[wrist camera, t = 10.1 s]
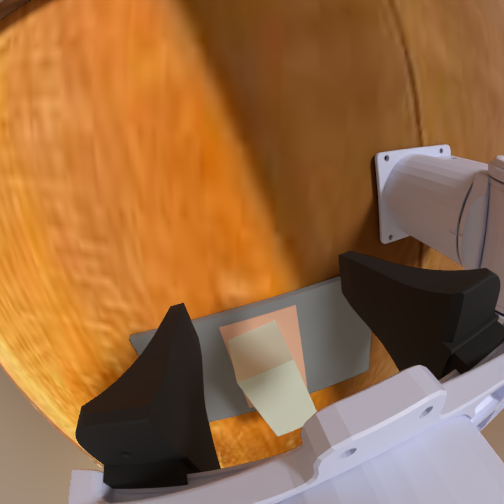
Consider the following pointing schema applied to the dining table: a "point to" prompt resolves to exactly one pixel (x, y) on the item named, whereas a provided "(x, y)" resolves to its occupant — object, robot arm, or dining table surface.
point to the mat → (295, 335)
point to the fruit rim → (10, 6)
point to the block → (271, 378)
